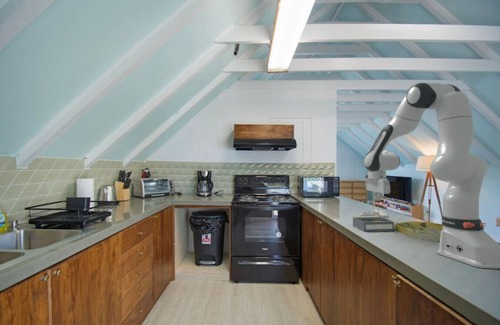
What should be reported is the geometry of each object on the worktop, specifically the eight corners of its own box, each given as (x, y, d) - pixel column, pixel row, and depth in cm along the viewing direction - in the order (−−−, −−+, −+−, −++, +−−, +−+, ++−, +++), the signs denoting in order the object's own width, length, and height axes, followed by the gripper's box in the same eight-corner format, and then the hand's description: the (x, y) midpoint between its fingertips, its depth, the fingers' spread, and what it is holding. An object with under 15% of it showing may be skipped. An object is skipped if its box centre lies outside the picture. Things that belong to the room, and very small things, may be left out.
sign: (406, 233, 122) (390, 220, 151) (407, 240, 122) (391, 226, 151) (478, 237, 114) (447, 222, 143) (478, 244, 114) (447, 228, 143)
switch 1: (370, 215, 141) (370, 211, 141) (363, 215, 141) (362, 211, 141) (363, 215, 148) (363, 212, 149) (356, 216, 148) (356, 212, 149)
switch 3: (388, 218, 141) (388, 215, 141) (381, 218, 141) (381, 215, 141) (380, 211, 149) (380, 209, 149) (373, 212, 149) (374, 209, 149)
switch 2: (379, 214, 141) (379, 211, 141) (372, 214, 141) (371, 211, 141) (372, 215, 149) (372, 212, 149) (365, 215, 148) (365, 212, 149)
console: (394, 231, 138) (394, 221, 138) (364, 231, 137) (364, 222, 137) (380, 225, 152) (379, 216, 152) (352, 225, 152) (352, 216, 152)
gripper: (393, 176, 138) (393, 202, 138) (373, 175, 159) (374, 198, 159) (381, 176, 138) (382, 202, 138) (363, 175, 159) (364, 198, 158)
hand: (377, 200), depth 148 cm, fingers closed
